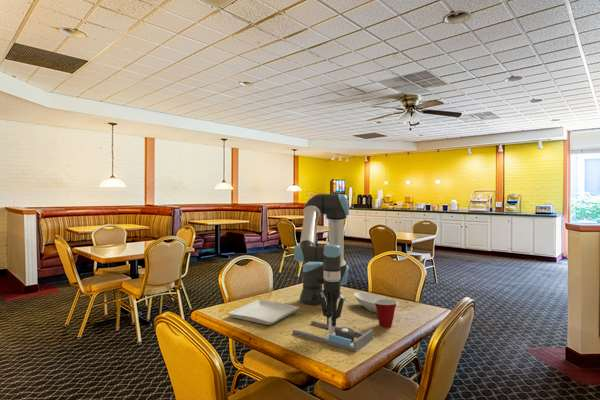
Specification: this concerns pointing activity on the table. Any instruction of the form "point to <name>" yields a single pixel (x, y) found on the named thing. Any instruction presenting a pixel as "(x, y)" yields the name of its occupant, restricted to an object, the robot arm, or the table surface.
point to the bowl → (369, 300)
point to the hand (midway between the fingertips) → (331, 332)
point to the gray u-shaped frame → (338, 338)
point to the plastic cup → (385, 311)
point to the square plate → (263, 311)
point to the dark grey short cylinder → (345, 333)
